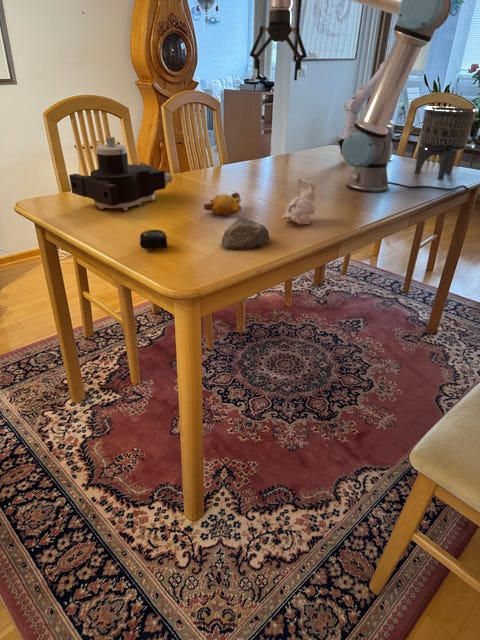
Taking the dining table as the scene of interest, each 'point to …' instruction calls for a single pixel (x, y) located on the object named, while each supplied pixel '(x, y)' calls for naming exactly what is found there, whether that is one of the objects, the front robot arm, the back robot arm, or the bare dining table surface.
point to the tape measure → (153, 239)
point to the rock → (245, 234)
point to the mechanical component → (118, 179)
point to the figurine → (301, 204)
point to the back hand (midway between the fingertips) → (346, 157)
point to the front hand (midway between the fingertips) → (276, 80)
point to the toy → (224, 204)
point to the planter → (444, 136)
